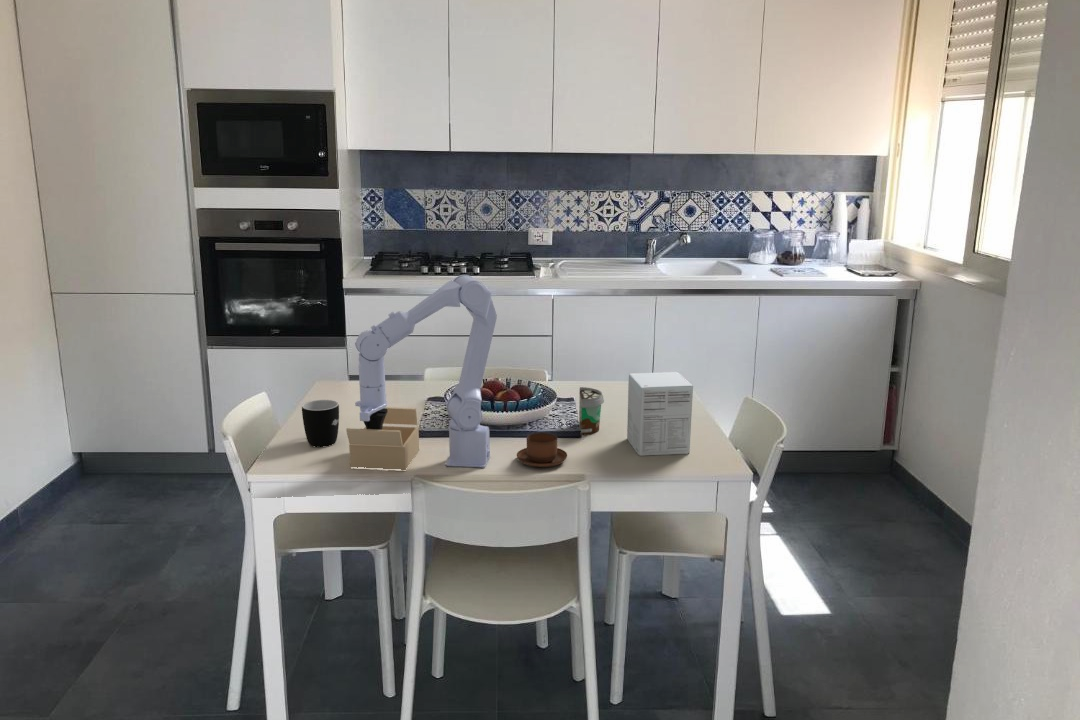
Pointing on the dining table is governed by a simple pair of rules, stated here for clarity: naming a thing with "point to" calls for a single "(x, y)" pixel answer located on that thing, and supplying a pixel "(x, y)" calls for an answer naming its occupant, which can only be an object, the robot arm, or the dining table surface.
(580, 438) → the dining table surface
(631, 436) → the supplement box
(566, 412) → the dining table surface
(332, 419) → the mug
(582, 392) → the food container
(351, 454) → the carton
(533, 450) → the cup and saucer
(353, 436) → the near flap
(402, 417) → the far flap
